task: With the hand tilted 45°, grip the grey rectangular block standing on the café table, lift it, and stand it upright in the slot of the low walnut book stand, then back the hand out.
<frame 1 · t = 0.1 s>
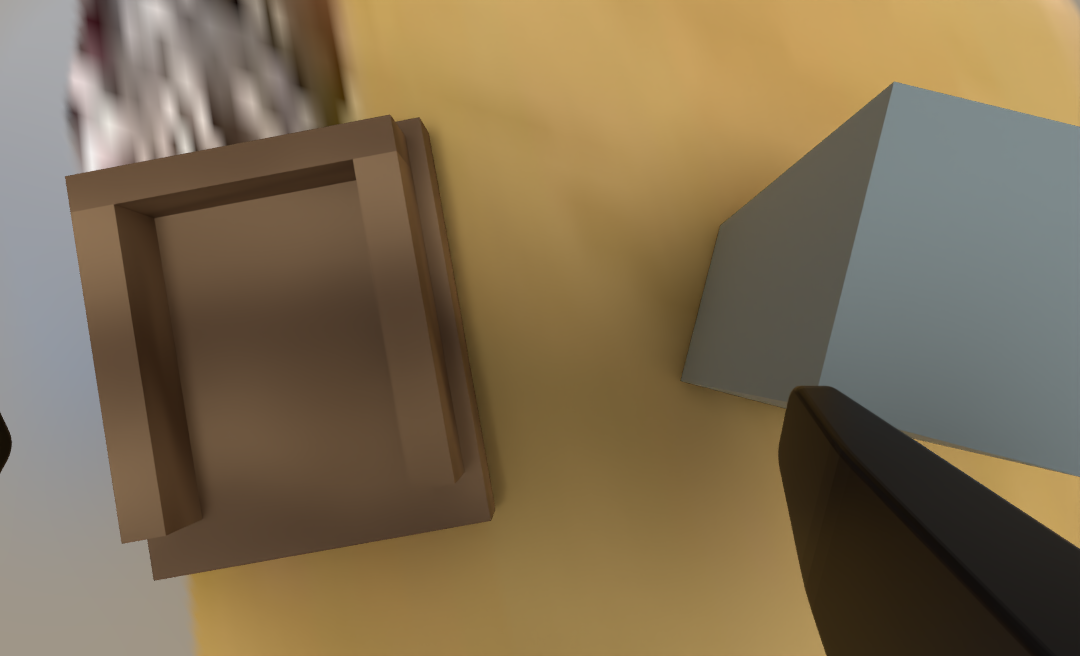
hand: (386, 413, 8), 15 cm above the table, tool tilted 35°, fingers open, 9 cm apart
book stand: (305, 347, 23), on the table
grey rectangular block: (763, 319, 23), on the table
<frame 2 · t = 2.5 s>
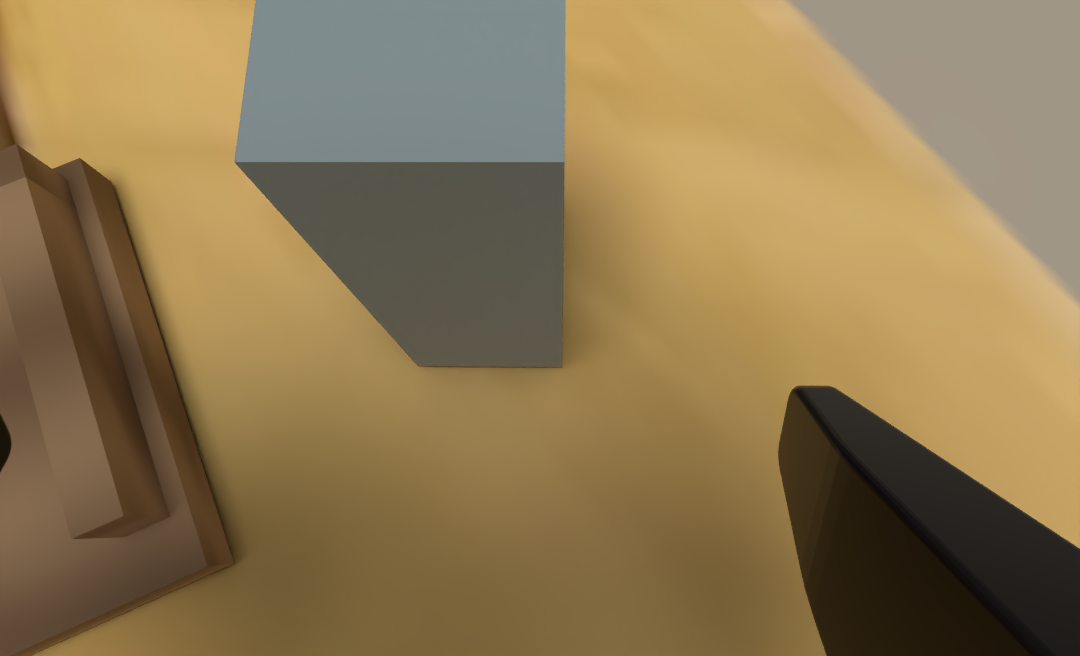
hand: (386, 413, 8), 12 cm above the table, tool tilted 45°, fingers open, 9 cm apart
grey rectangular block: (492, 281, 21), on the table
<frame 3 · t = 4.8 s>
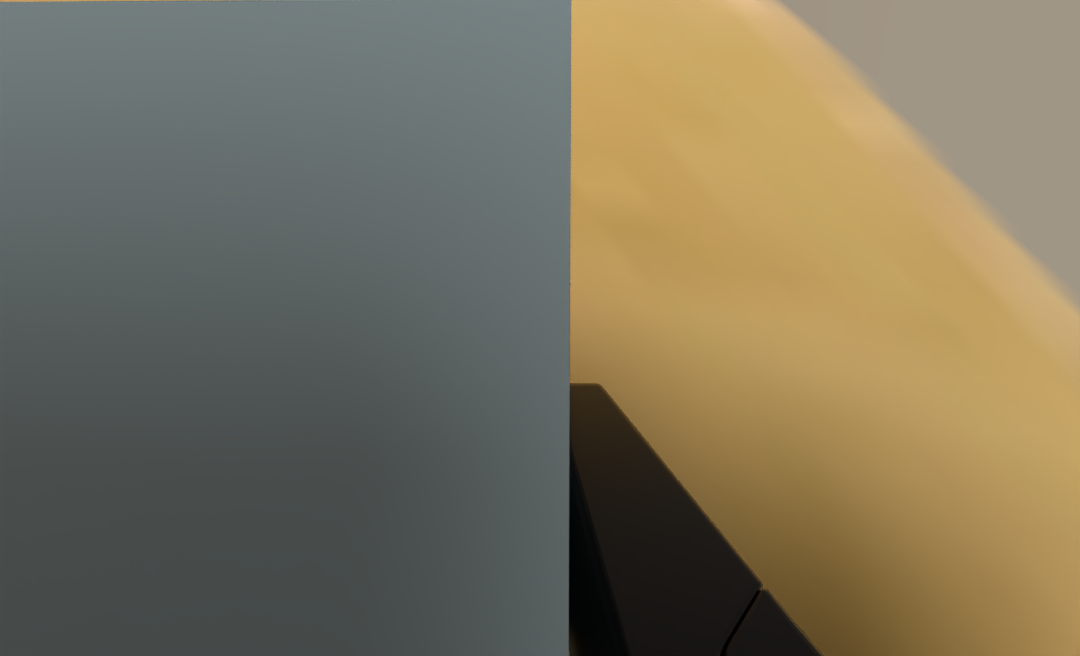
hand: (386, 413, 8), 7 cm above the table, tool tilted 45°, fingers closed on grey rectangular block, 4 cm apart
grey rectangular block: (458, 531, 14), on the table, touching gripper
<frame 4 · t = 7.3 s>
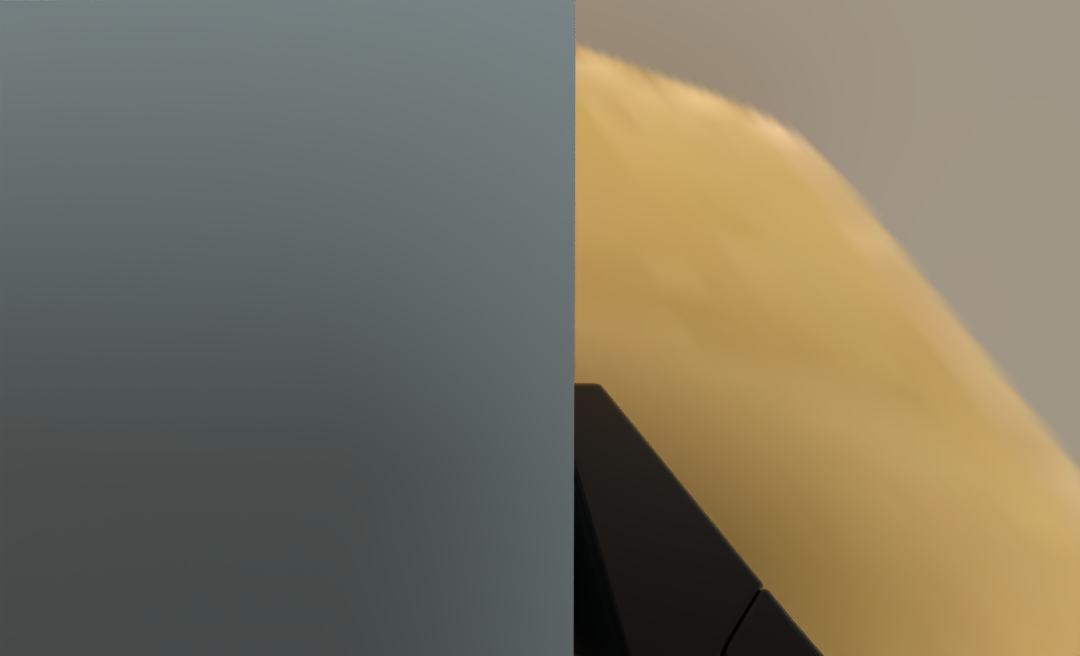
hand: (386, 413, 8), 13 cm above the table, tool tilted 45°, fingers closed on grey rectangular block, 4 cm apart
grey rectangular block: (459, 531, 14), point 6 cm above the table, touching gripper
when the fingers open (9 cm above the table, at t = 9.8 s): grey rectangular block stays where it is, resting on book stand.
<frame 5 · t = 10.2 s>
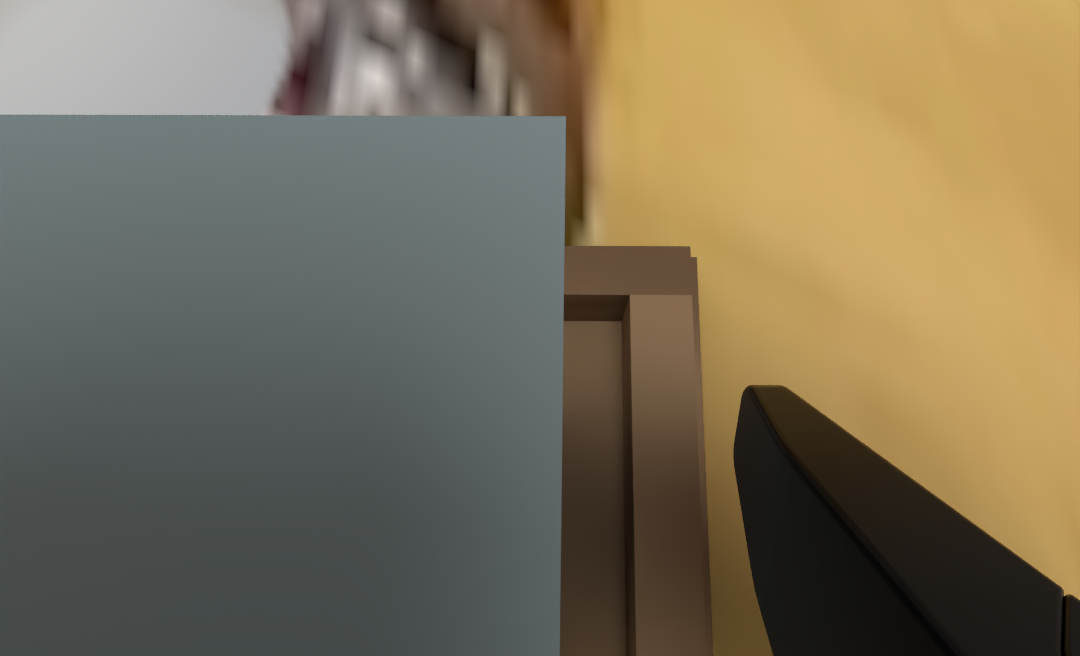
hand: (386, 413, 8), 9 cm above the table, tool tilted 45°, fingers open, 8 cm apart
book stand: (472, 529, 17), on the table
grey rectangular block: (463, 530, 15), point 1 cm above the table, touching book stand
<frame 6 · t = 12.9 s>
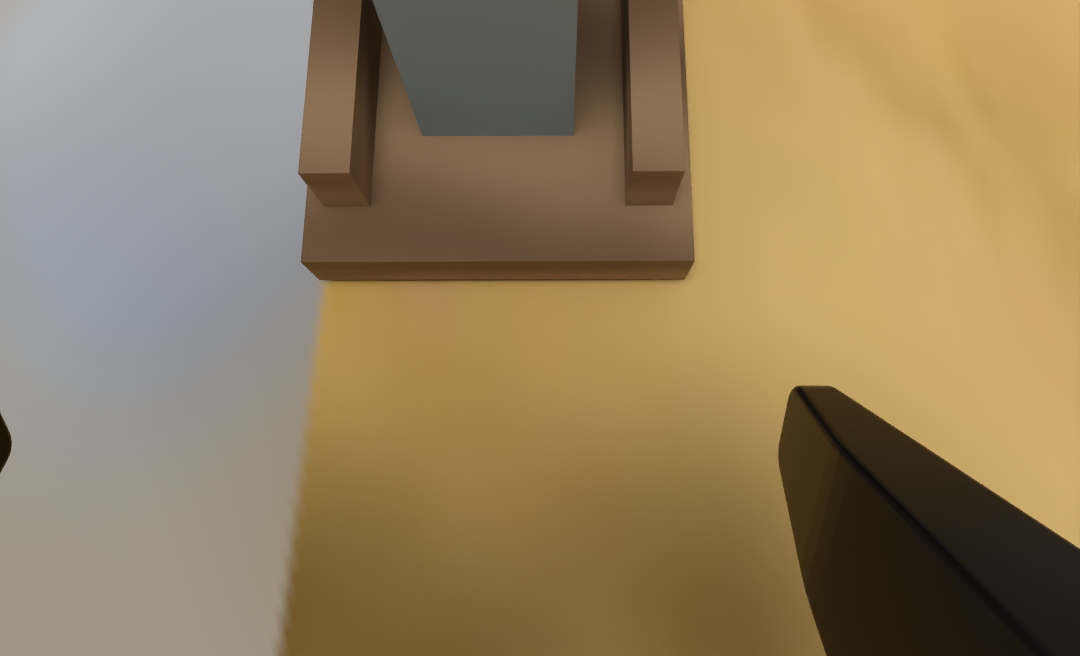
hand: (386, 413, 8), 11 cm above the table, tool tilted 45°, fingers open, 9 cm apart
book stand: (504, 83, 22), on the table
grey rectangular block: (499, 52, 20), point 1 cm above the table, touching book stand
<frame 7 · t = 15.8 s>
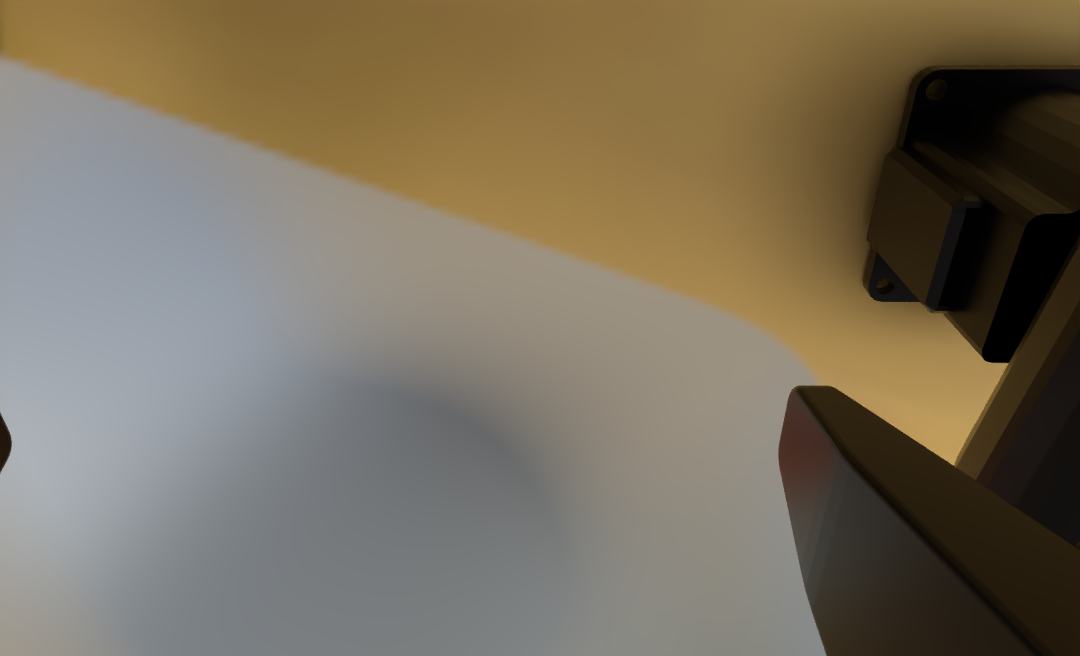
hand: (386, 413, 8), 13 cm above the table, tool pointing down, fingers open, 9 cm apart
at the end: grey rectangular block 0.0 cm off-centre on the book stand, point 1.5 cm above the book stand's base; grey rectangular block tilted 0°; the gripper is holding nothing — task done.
